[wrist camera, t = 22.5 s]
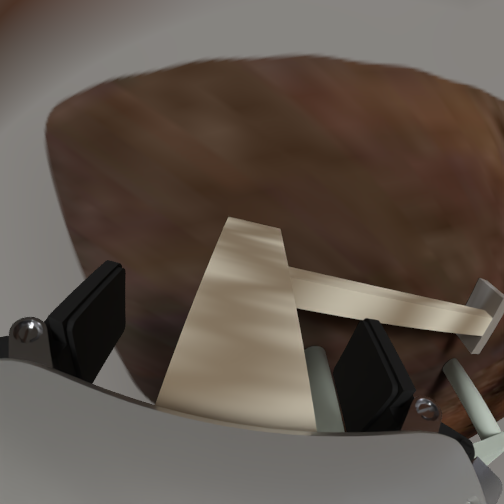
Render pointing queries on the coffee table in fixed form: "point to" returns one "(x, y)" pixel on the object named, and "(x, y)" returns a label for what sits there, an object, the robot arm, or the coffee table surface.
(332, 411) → the stand
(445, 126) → the coffee table surface
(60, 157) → the coffee table surface
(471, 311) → the hoe
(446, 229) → the coffee table surface
